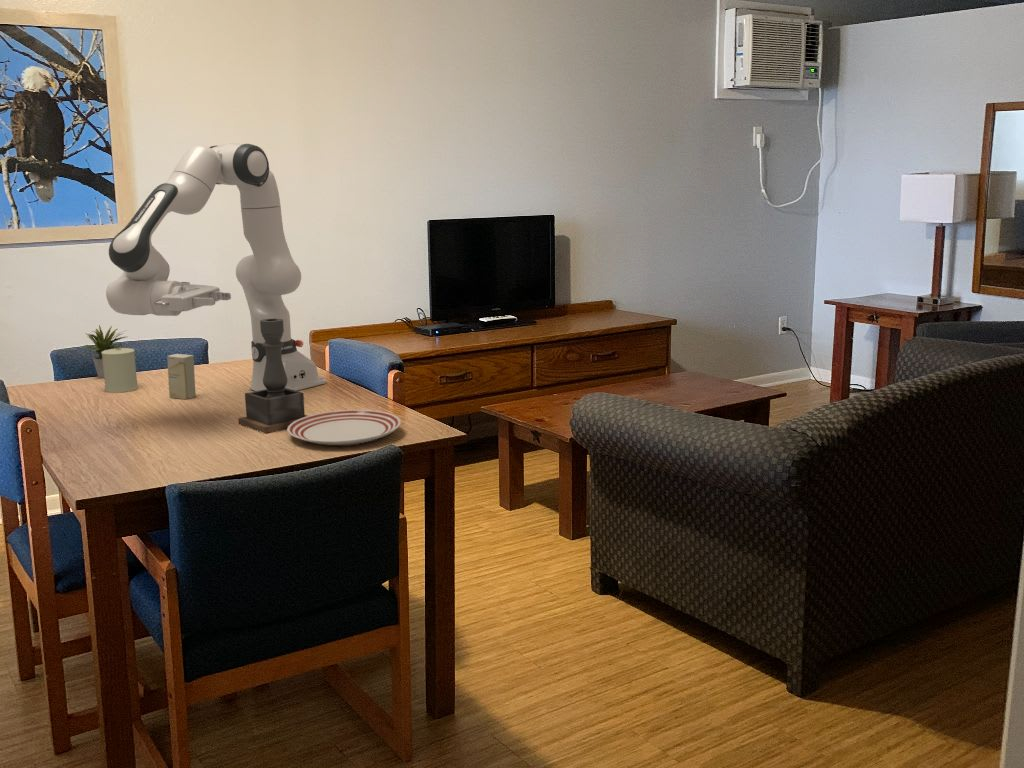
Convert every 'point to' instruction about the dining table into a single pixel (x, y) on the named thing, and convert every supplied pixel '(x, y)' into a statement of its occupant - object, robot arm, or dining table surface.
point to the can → (119, 370)
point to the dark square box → (272, 410)
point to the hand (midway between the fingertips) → (222, 299)
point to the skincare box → (181, 376)
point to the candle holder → (273, 357)
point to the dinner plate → (344, 427)
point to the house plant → (102, 347)
